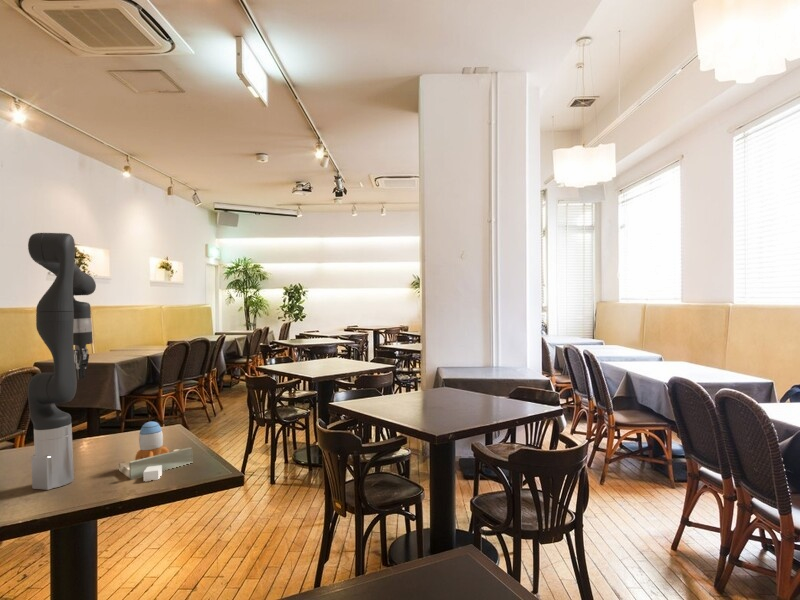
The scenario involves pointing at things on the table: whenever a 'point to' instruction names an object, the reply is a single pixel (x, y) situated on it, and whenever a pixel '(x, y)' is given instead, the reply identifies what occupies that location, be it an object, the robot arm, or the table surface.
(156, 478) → the fin block
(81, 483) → the table surface
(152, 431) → the toy rocket
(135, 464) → the cradle
